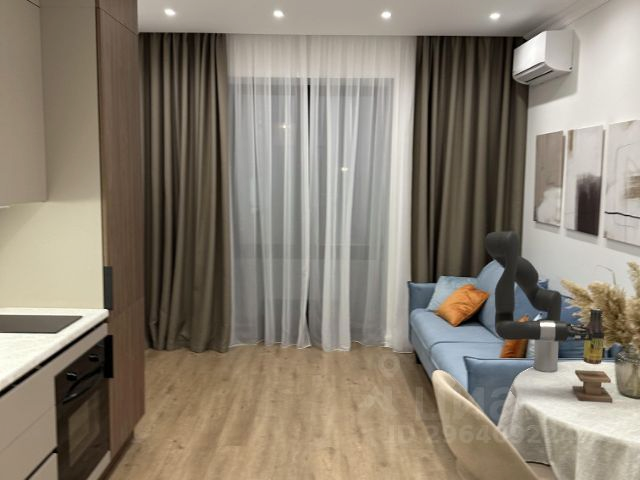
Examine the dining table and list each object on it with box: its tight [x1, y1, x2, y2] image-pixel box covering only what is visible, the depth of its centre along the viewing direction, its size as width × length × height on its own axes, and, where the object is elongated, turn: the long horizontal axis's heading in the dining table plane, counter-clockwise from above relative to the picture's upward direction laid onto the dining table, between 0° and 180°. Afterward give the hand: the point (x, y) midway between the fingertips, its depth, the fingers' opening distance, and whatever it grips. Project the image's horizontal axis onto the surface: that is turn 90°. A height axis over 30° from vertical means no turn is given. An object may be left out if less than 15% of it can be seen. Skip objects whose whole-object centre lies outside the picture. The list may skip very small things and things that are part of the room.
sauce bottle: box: [582, 307, 605, 365], centre depth 216 cm, size 6×6×20 cm
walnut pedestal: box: [571, 369, 613, 404], centre depth 218 cm, size 11×11×8 cm
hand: (601, 333), depth 215 cm, fingers closed on sauce bottle, 6 cm apart
